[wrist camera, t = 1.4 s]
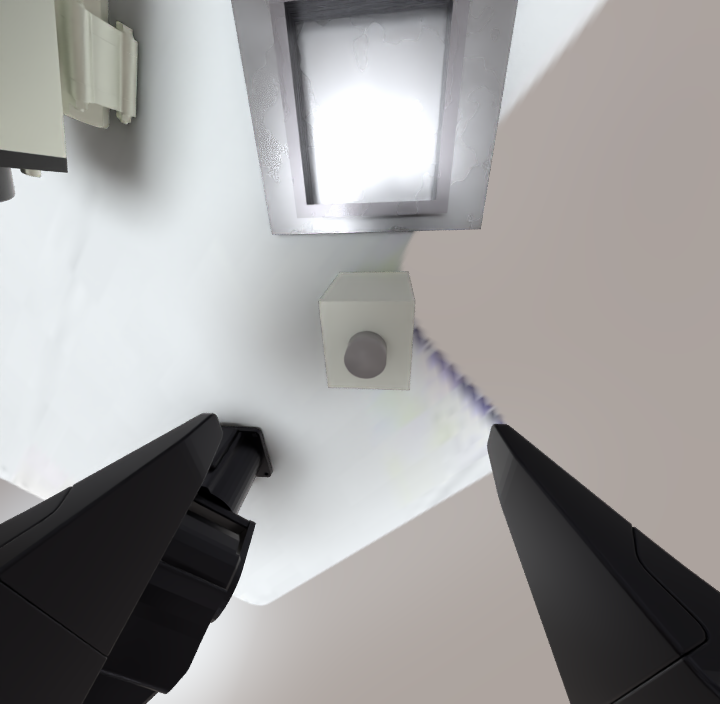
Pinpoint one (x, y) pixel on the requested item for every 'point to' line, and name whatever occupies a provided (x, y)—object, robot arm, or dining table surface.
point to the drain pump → (368, 330)
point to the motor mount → (374, 109)
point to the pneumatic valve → (58, 79)
